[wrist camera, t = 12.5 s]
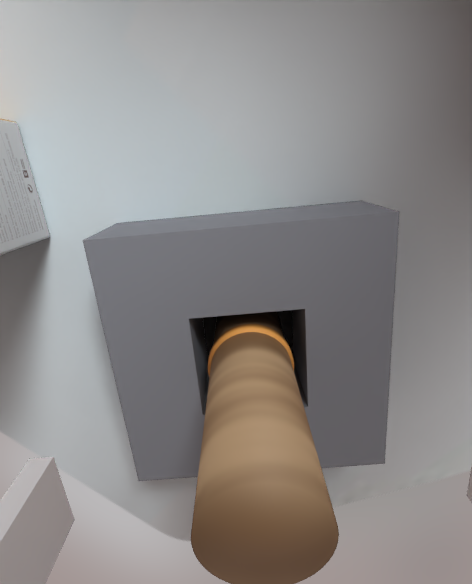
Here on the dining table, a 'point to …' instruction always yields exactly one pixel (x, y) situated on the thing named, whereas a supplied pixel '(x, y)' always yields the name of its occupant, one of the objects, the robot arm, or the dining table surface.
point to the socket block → (244, 300)
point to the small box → (18, 194)
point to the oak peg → (258, 463)
